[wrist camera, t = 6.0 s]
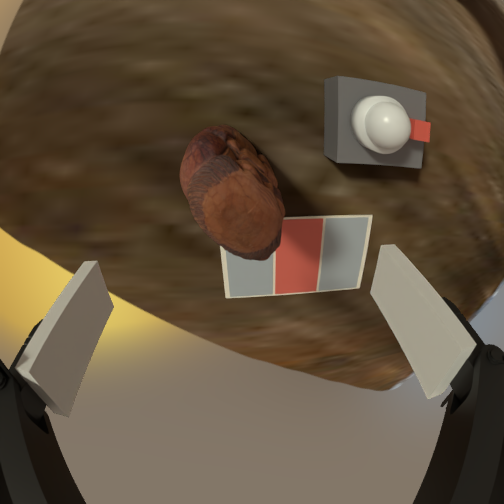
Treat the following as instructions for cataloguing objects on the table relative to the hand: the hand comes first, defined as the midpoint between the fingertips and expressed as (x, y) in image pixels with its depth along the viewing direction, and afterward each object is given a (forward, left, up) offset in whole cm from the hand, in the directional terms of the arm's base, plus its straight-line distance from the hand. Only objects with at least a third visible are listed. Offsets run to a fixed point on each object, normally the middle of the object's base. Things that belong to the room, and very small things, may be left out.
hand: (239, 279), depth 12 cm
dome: (-16, -6, -19) cm, 26 cm away
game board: (-8, +14, -25) cm, 29 cm away
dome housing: (-17, -6, -25) cm, 30 cm away
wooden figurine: (0, 0, -25) cm, 25 cm away
